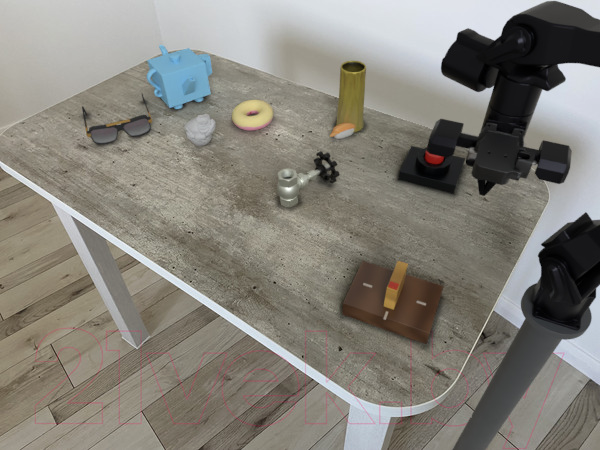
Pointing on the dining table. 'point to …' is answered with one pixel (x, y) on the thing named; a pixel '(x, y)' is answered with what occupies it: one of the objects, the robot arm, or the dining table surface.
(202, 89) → the teapot
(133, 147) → the dining table surface
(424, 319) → the panel
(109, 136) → the sunglasses
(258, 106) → the donut
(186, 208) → the dining table surface
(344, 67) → the vase
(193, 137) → the grey lumpy blob
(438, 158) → the button
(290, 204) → the valve
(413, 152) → the button box
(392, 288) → the lock knob
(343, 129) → the sushi
